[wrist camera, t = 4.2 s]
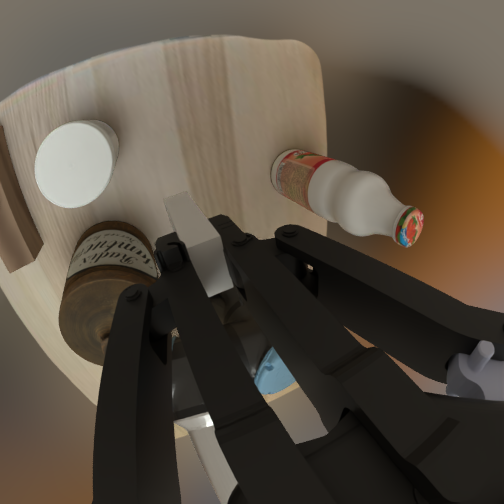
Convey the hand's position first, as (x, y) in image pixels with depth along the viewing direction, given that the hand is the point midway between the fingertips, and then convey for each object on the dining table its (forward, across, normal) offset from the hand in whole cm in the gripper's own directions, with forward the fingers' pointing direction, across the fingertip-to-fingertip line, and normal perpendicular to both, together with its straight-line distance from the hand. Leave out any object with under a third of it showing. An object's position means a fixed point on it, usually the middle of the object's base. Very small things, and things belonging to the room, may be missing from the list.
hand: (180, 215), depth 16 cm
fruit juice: (+28, -24, +10) cm, 38 cm away
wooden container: (+28, +12, +15) cm, 34 cm away
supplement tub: (+28, +9, -4) cm, 30 cm away
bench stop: (+28, +26, -4) cm, 38 cm away
